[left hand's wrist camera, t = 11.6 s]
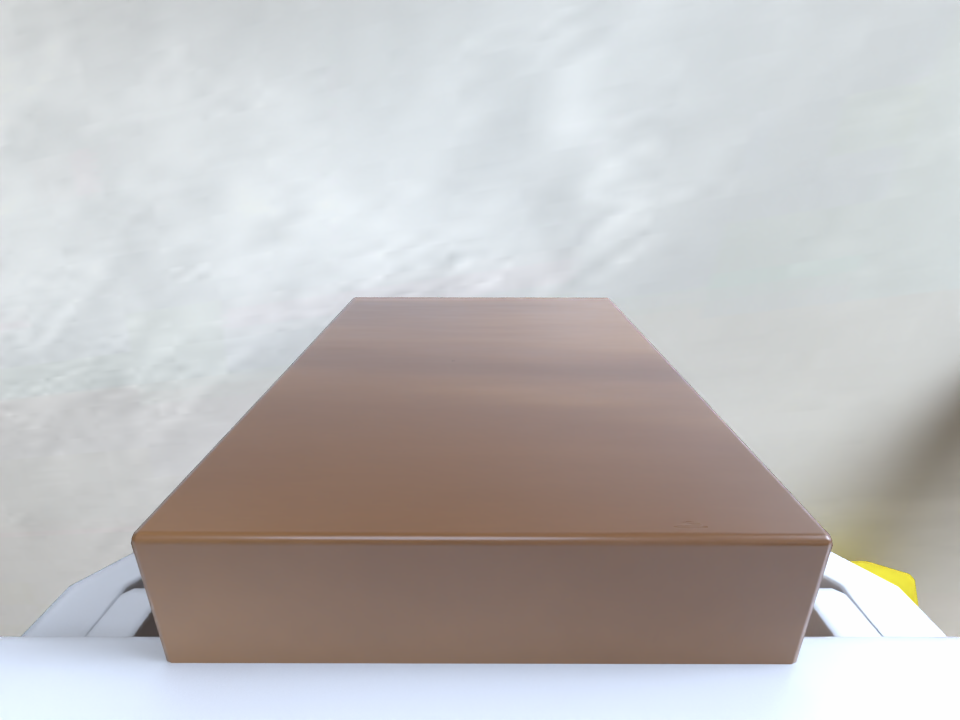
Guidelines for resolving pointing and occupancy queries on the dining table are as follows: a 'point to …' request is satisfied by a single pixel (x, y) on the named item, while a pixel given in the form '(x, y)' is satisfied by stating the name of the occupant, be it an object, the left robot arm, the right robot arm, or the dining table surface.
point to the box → (481, 505)
